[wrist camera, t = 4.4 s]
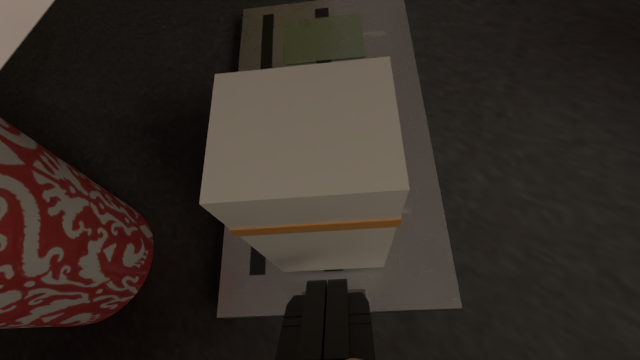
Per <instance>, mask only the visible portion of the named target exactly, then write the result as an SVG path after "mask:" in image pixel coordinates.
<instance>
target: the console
mask: <svg viewBox="0 0 640 360" xmlns="http://www.w3.org/2000/svg"><path fill="white" fill-rule="evenodd" d="M388 56H390V61H391V68H392V75H393V81H394V88H395V95H396V101H397V108H398V115H399V121H400V128H401V135H402V141H403V148H404V155H405V161H406V168H407V175H408V181H409V188H410V190H409V193H408V196H407V199H406V202H405V205H404V208H403V211H402V214H401V216H402V221H401V224H400V227H397V229H396V232H395V235H394V238H393V241H392V244H391V247H390V250H389V253H388V256H387V258H386V261H385V264H384V267H374V268H354V269H334V270H314V271H294V272H283V271H282V270H281V269H279V268H278V267H277V266H276V265H274V264H273V263H272V262H271V261H269V260H268V259H267V258H266V257H264V256H263V255H262V254H261V253H259V252H258V251H257V250H256V249H254V248H253V247H252V246H251V245H249V244H248V243H247V242H246V241H244V240H243V239H242V238H241V237H236V236H234V235H233V234H232V233H231V232H229V231H228V227H227V226H226V225H225V229H224V240H223V252H222V263H221V275H220V286H219V298H218V309H217V318H224V319H236V318H262V317H284V314H285V310H286V305H287V304H288V303H289V301H290V300H291V299H292V297H293V296H294V295H305V292H306V285H307V281H310V280H327V284H328V279H347V283H348V293H351V292H362V293H363V294H364V296H365V297H366V298H367V300H368V301H369V307H370V313H391V312H417V311H443V310H457V309H460V308H462V305H461V299H460V294H459V289H458V283H457V278H456V273H455V267H454V262H453V257H452V252H451V246H450V241H449V236H448V230H447V225H446V220H445V215H444V209H443V204H442V199H441V193H440V188H439V183H438V178H437V172H436V167H435V162H434V156H433V151H432V146H431V141H430V135H429V130H428V125H427V119H426V114H425V109H424V103H423V98H422V93H421V88H420V82H419V77H418V72H417V66H416V61H415V56H414V51H413V45H412V40H411V35H410V29H409V24H408V19H407V14H406V8H405V3H404V0H317V1H309V2H300V3H292V4H283V5H275V6H267V7H258V8H250V9H244V10H243V21H242V33H241V44H240V56H239V67H238V72H241V71H251V70H261V69H271V68H280V67H290V66H300V65H310V64H320V63H329V62H339V61H349V60H359V59H368V58H378V57H388Z"/></svg>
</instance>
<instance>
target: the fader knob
mask: <svg viewBox="0 0 640 360" xmlns="http://www.w3.org/2000/svg"><path fill="white" fill-rule="evenodd" d="M409 190H410V188H409V181H408V175H407V168H406V161H405V155H404V148H403V141H402V135H401V128H400V121H399V115H398V108H397V101H396V95H395V88H394V81H393V75H392V68H391V61H390V56H388V57H378V58H368V59H359V60H349V61H339V62H329V63H320V64H310V65H300V66H290V67H280V68H271V69H261V70H251V71H241V72H232V73H222V74H215V78H214V86H213V94H212V103H211V111H210V119H209V127H208V135H207V144H206V152H205V160H204V168H203V176H202V185H201V193H200V201H199V204H200V205H201V206H202V207H203V208H205V209H206V210H207V211H208V212H210V213H211V214H212V215H213V216H215V217H216V218H217V219H218V220H220V221H221V222H222V223H223V224H225V225H226V226H227V227H228V231H229V232H231V233H232V234H233V235H234V236H236V237H241V238H242V239H243V240H244V241H246V242H247V243H248V244H249V245H251V246H252V247H253V248H254V249H256V250H257V251H258V252H259V253H261V254H262V255H263V256H264V257H266V258H267V259H268V260H269V261H271V262H272V263H273V264H274V265H276V266H277V267H278V268H279V269H281V270H282V271H283V272H294V271H314V270H334V269H354V268H374V267H384V264H385V261H386V258H387V256H388V253H389V250H390V247H391V244H392V241H393V238H394V235H395V232H396V229H397V227H400V224H401V221H402V216H401V214H402V211H403V208H404V205H405V202H406V199H407V196H408V193H409Z"/></svg>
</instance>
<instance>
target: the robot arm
mask: <svg viewBox="0 0 640 360" xmlns="http://www.w3.org/2000/svg"><path fill="white" fill-rule="evenodd" d="M275 360H375V351H374V342H373V334H372V325H371V316H370V307H369V301H368V300H367V298H366V297H365V296H364V294H363V293H362V292H351V293H348V283H347V279H328V284H327V280H310V281H307V285H306V292H305V295H294V296H293V297H292V299H291V300H290V301H289V303H288V304H287V305H286V310H285V314H284V319H283V324H282V329H281V334H280V338H279V343H278V348H277V353H276V358H275Z"/></svg>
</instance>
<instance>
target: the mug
mask: <svg viewBox="0 0 640 360" xmlns="http://www.w3.org/2000/svg"><path fill="white" fill-rule="evenodd" d="M153 253H154V242H153V235H152V232H151V229H150V227H149V224H148V223H147V221H146V220H145V218H144V217H143V216H142V215H141V214H140V213H139V212H137V211H136V210H135V209H133V208H132V207H131V206H129V205H128V204H126V203H124V202H123V201H121V200H120V199H118V198H117V197H115V196H114V195H112V194H111V193H109V192H108V191H106V190H105V189H104V188H102V187H101V186H99V185H97V184H96V183H95V182H93V181H92V180H90V179H89V178H88V177H86V176H85V175H83V174H82V173H80V172H79V171H78V170H77V169H76V168H74V167H73V166H71V165H70V164H68V163H66V162H64V161H63V160H61V159H60V158H58V157H57V156H56V155H54V154H53V153H51V152H50V151H48V150H47V149H45V148H44V147H43V146H41V145H40V144H38V143H37V142H35V141H34V140H32V139H31V138H29V137H28V136H26V135H25V134H24V133H22V132H21V131H20V130H18V129H17V128H16V127H14V126H13V125H11V124H9V123H8V122H7V121H5V120H4V119H2V118H1V117H0V328H29V327H71V326H81V325H88V324H93V323H96V322H99V321H102V320H104V319H106V318H108V317H110V316H112V315H113V314H115V313H116V312H117V311H119V310H120V309H121V308H123V307H124V306H125V305H126V304H127V303H128V302H129V301H130V300H131V299H132V298H133V297H134V296H135V295H136V293H137V292H138V291H139V289H140V288H141V286H142V285H143V283H144V281H145V280H146V277H147V275H148V272H149V270H150V267H151V263H152V259H153Z"/></svg>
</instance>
